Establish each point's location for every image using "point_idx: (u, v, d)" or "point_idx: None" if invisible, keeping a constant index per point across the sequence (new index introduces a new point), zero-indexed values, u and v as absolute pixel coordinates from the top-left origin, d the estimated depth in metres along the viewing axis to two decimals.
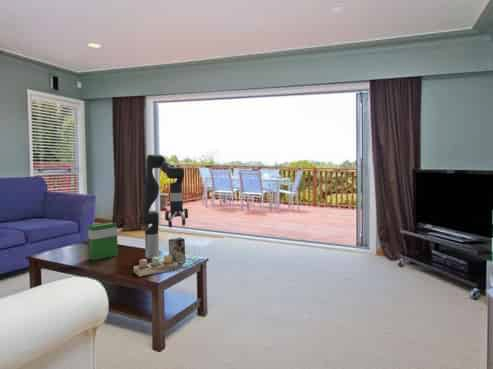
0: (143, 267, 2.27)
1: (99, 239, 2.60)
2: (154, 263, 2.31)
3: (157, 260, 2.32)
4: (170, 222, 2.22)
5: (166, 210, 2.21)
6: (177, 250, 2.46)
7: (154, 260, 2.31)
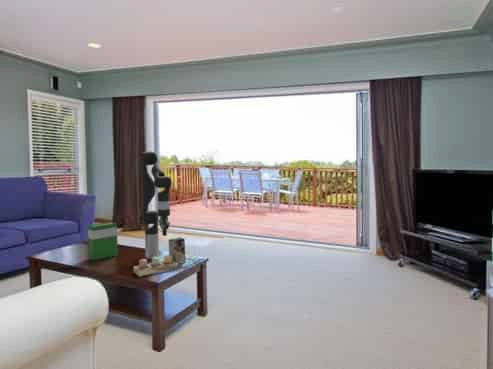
0: (143, 267, 2.27)
1: (99, 239, 2.60)
2: (154, 263, 2.31)
3: (157, 260, 2.32)
4: (166, 230, 2.33)
5: (167, 222, 2.28)
6: (177, 250, 2.46)
7: (154, 260, 2.31)
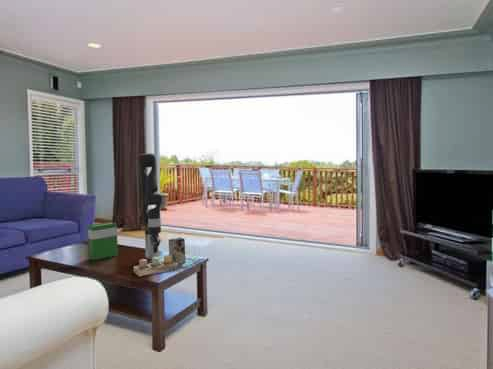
0: (143, 267, 2.27)
1: (99, 239, 2.60)
2: (154, 263, 2.31)
3: (157, 260, 2.32)
4: (157, 247, 2.33)
5: (158, 240, 2.27)
6: (177, 250, 2.46)
7: (154, 260, 2.31)
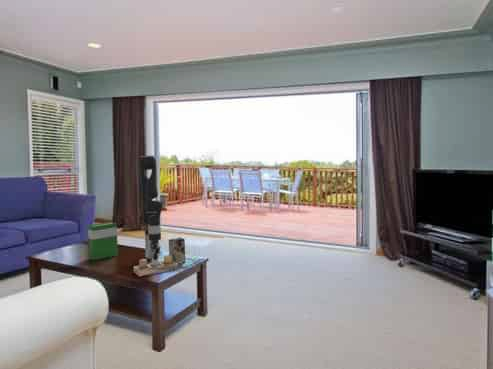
0: (143, 267, 2.27)
1: (99, 239, 2.60)
2: (154, 264, 2.31)
3: (157, 261, 2.32)
4: (157, 254, 2.33)
5: (158, 247, 2.27)
6: (177, 250, 2.46)
7: (154, 261, 2.31)
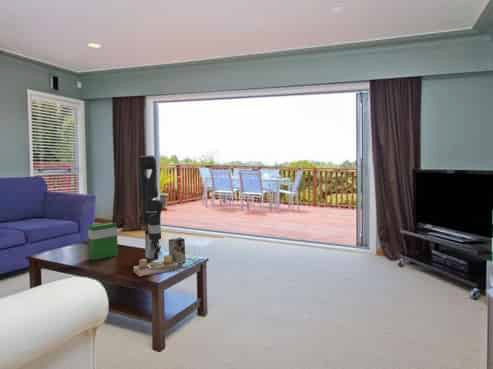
0: (143, 267, 2.27)
1: (99, 239, 2.60)
2: None
3: (157, 264, 2.32)
4: None
5: (158, 246, 2.27)
6: (177, 250, 2.46)
7: (154, 264, 2.31)
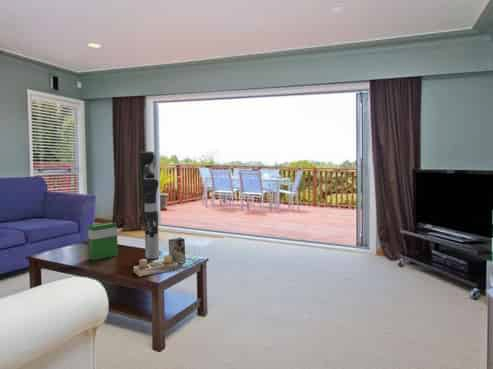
0: (143, 267, 2.27)
1: (99, 239, 2.60)
2: None
3: (157, 264, 2.32)
4: None
5: (154, 224, 2.27)
6: (177, 250, 2.46)
7: (154, 264, 2.31)
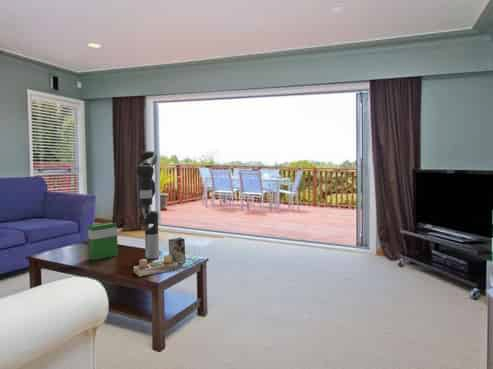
0: (143, 267, 2.27)
1: (99, 239, 2.60)
2: None
3: (157, 264, 2.32)
4: (148, 219, 2.34)
5: (149, 211, 2.28)
6: (177, 250, 2.46)
7: (154, 264, 2.31)
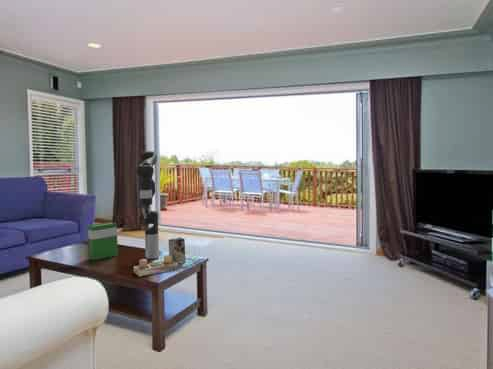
0: (143, 267, 2.27)
1: (99, 239, 2.60)
2: None
3: (157, 264, 2.32)
4: (148, 219, 2.34)
5: (149, 211, 2.28)
6: (177, 250, 2.46)
7: (154, 264, 2.31)
